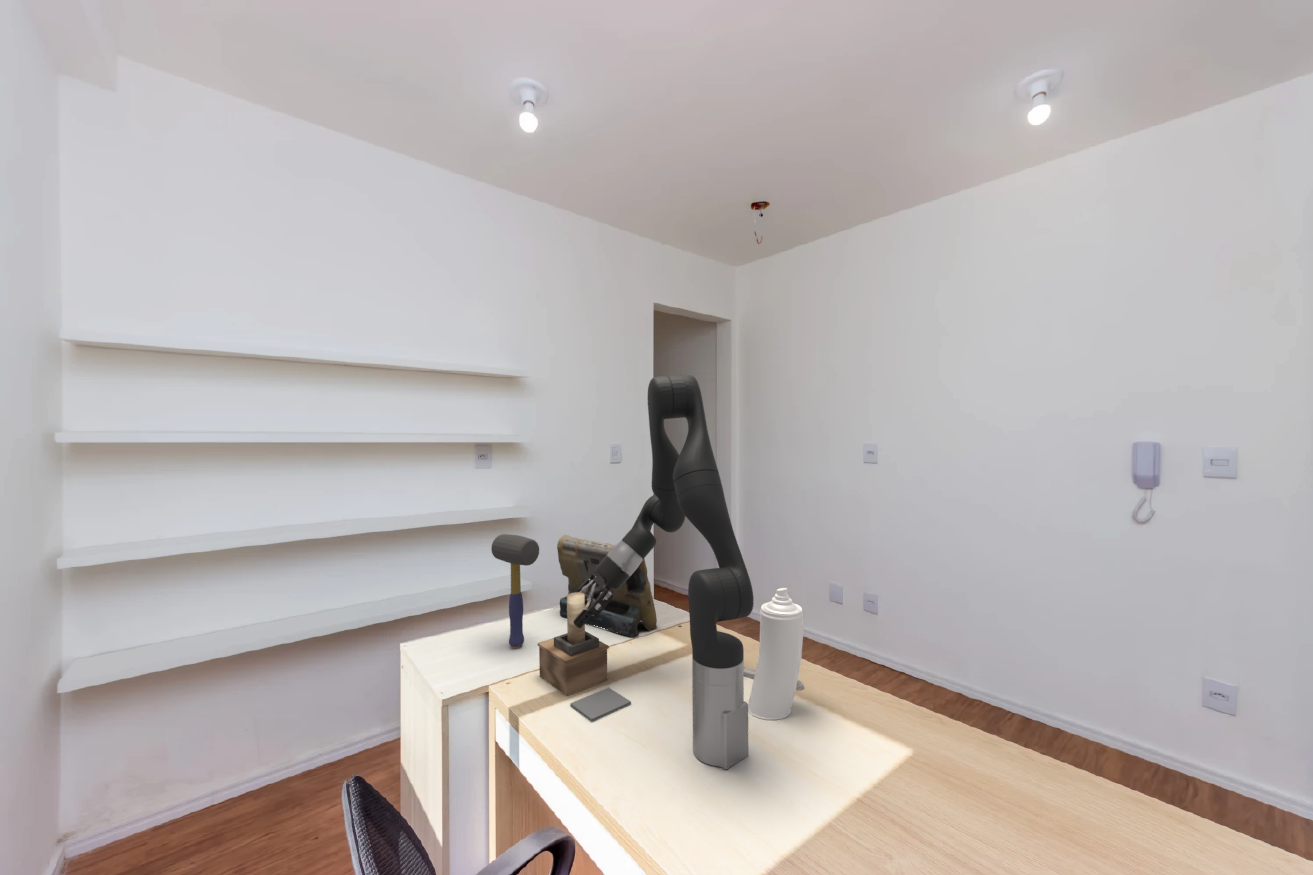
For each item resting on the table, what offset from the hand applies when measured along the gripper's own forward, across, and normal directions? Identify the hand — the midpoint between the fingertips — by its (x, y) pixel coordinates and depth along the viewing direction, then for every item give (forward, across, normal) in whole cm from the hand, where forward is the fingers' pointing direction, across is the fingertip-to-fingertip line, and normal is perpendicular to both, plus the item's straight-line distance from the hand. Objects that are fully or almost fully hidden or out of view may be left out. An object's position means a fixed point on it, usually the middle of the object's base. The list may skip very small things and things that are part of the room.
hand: (572, 618), depth 121 cm
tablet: (-2, -33, +23) cm, 40 cm away
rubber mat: (+8, +12, +13) cm, 19 cm away
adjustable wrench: (-17, +13, +38) cm, 43 cm away
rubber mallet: (+18, -24, +3) cm, 30 cm away
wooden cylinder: (+4, 0, +5) cm, 7 cm away
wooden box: (+10, -1, +10) cm, 15 cm away
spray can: (-16, +27, +37) cm, 48 cm away
